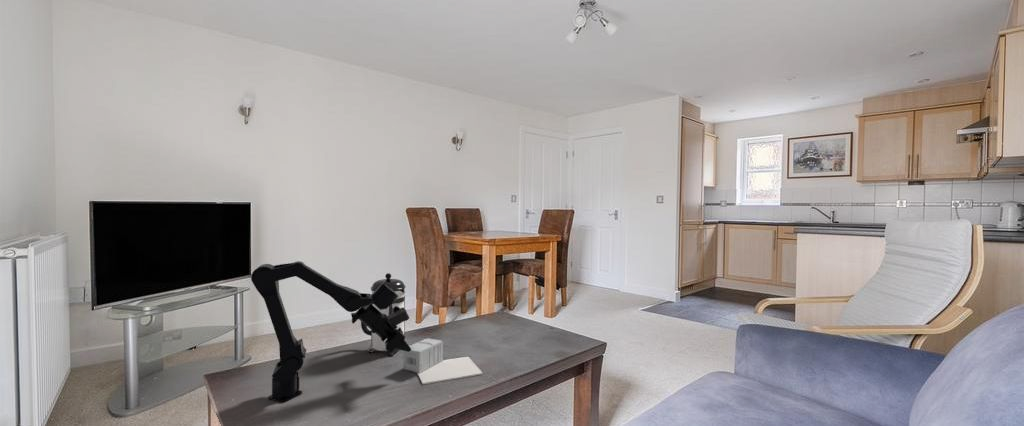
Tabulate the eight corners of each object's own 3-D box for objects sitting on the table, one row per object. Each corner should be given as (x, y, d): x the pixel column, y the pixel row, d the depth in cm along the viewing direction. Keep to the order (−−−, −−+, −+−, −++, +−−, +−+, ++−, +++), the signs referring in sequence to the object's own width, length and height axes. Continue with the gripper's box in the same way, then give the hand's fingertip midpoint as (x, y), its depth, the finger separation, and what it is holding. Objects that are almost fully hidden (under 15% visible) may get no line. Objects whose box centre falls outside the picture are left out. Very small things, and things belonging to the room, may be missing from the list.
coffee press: (405, 341, 167) (405, 269, 167) (410, 354, 152) (410, 275, 152) (360, 346, 161) (360, 271, 160) (361, 360, 146) (361, 277, 145)
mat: (422, 384, 126) (422, 383, 126) (413, 366, 141) (413, 364, 141) (482, 374, 134) (482, 372, 134) (468, 357, 149) (468, 356, 149)
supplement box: (402, 347, 137) (426, 337, 148) (403, 369, 137) (426, 357, 148) (420, 351, 133) (443, 340, 145) (420, 373, 133) (443, 361, 145)
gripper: (398, 307, 122) (433, 339, 126) (390, 295, 139) (422, 323, 143) (370, 336, 119) (408, 368, 123) (365, 320, 136) (399, 348, 140)
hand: (410, 350), depth 133 cm, fingers closed
